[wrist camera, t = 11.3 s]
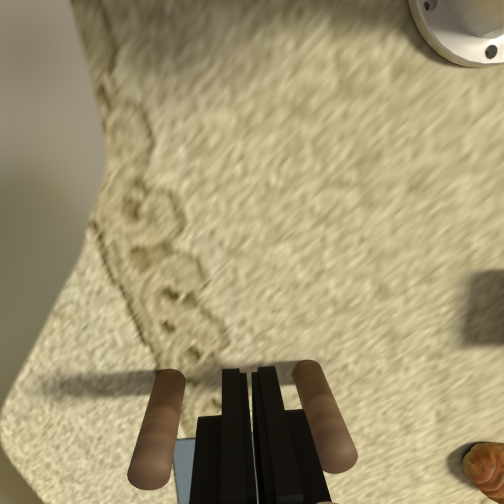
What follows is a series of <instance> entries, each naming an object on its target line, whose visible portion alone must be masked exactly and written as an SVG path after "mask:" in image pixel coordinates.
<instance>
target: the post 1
mask: <svg viewBox="0 0 504 504" xmlns="http://www.w3.org/2000/svg"><path fill="white" fill-rule="evenodd" d="M185 384H186V379H185V377H184V375H183V374H182V373H181V372H179V371H177V370H174V369H167V370H163V371H161V372H160V373H159V374H158V375H157V376H156V379H155V382H154V385H153V389H152V392H151V396H150V399H149V402H148V406H147V409H146V412H145V416H144V419H143V422H142V426H141V429H140V432H139V436H138V439H137V442H136V446H135V449H134V452H133V456H132V459H131V463H130V466H129V469H128V473H127V477H128V480H129V482H130V483H131V484H132V485H133V486H135V487H136V488H139V489H142V490H156V489H159V488H161V487H163V486H164V485H166V484H167V482H168V481H169V479H170V474H171V468H172V462H173V456H174V450H175V444H176V438H177V432H178V426H179V420H180V414H181V408H182V402H183V396H184V390H185Z"/></svg>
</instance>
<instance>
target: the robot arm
mask: <svg viewBox="0 0 504 504" xmlns="http://www.w3.org/2000/svg"><path fill="white" fill-rule="evenodd" d="M408 1H409V6H410V11H411V14H412V16H413V18H414V21H415V23H416V26H417V28H418V30H419V32H420V33H421V35H422V36H423V38H424V39H425V41H426V42H427V43H428V44H429V45H430V46H431V47H432V48H433V49H434V50H435V51H436V52H437V53H438V54H439V55H440V56H442V57H444V58H446V59H447V60H449V61H451V62H452V63H456V64H459V65H462V66H466V67H476V68H485V67H491V66H497V65H501V64H504V0H408ZM424 5H425V7H426V9H425V8H424ZM251 377H252V419H253V443H252V431H251V420H250V409H249V398H248V387H247V375H246V373H240V372H239V368H236V369H222V415H217V416H203V417H198V421H197V429H196V439H195V449H194V459H193V468H192V478H191V488H190V498H189V504H257V491H258V502H259V504H337V503H333V502H332V501H331V498H330V494H329V491H328V487H327V484H326V481H325V477H324V474H323V471H322V467H321V464H320V460H319V457H318V454H317V450H316V447H315V443H314V440H313V437H312V433H311V430H310V427H309V423H308V420H307V416H306V414H305V411H304V409H296V410H285V409H284V404H283V400H282V395H281V391H280V386H279V382H278V377H277V373H276V368H275V366H266V367H258V372H252V373H251ZM253 447H254V454H253ZM254 458H255V465H254ZM255 469H256V476H255ZM256 480H257V488H256Z"/></svg>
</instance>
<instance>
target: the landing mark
mask: <svg viewBox="0 0 504 504" xmlns="http://www.w3.org/2000/svg"><path fill="white" fill-rule="evenodd" d="M195 439H196V438H188V439H176V444H175V450H174V456H173V457H174V464H175V472H176V480H177V488H178V496H179V503H180V504H189V498H190V488H191V478H192V468H193V459H194V449H195ZM252 443H253V433H252ZM253 454H254V447H253ZM254 465H255V458H254ZM255 476H256V469H255ZM256 488H257V480H256ZM257 504H259V502H258V491H257Z"/></svg>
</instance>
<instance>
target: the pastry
mask: <svg viewBox="0 0 504 504" xmlns="http://www.w3.org/2000/svg"><path fill="white" fill-rule="evenodd" d="M462 464H463V470H464V474H465V475H466V476H467V477H468V478H469V479H470V480H471V482H472V483H473V484H474V486H475V487H477V488H479V489H480V491H481V492H482V493H483V494H485V495H486V496H487V497H488V498H489V499H491V500H493V501H495V502H497V503H499V504H504V444H500V443H493V442H486V443H479V444H475V445H474V446H473V447H472V448H471V450H470V451H469V452H468V453H467V454H466V455H465V457H464V459H463V461H462Z"/></svg>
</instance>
